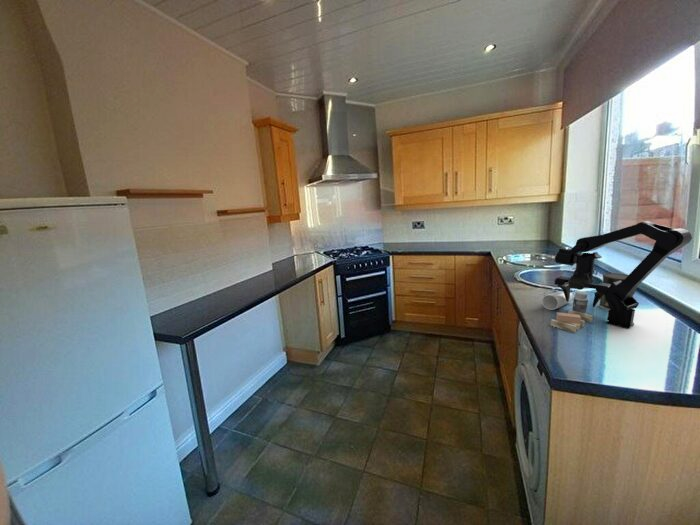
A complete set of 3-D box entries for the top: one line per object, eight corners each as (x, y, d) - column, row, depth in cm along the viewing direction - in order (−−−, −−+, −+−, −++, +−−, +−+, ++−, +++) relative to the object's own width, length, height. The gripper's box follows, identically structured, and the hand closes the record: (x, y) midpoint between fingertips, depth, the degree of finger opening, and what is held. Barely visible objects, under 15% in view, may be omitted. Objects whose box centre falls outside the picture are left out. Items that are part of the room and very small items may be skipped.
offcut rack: (592, 321, 118) (593, 315, 117) (574, 333, 109) (575, 326, 109) (569, 315, 124) (569, 309, 124) (550, 326, 116) (551, 319, 115)
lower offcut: (579, 329, 113) (580, 322, 112) (577, 331, 111) (578, 325, 110) (557, 323, 118) (558, 317, 117) (555, 326, 116) (555, 319, 116)
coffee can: (634, 313, 123) (639, 280, 120) (601, 310, 128) (606, 278, 125) (626, 305, 132) (630, 274, 129) (596, 302, 137) (600, 272, 134)
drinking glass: (572, 306, 137) (555, 312, 129) (557, 299, 142) (539, 305, 134) (578, 292, 134) (560, 298, 127) (561, 286, 140) (544, 291, 132)
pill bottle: (572, 309, 130) (574, 290, 129) (586, 311, 128) (588, 292, 126) (571, 312, 127) (574, 293, 125) (585, 315, 124) (588, 295, 122)
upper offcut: (578, 321, 114) (579, 314, 113) (580, 324, 111) (581, 317, 111) (556, 318, 117) (557, 312, 116) (557, 321, 114) (558, 315, 114)
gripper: (549, 267, 127) (546, 302, 130) (605, 275, 111) (600, 315, 115) (562, 263, 133) (558, 297, 136) (616, 270, 117) (611, 308, 121)
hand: (580, 304), depth 127 cm, fingers open, 9 cm apart
